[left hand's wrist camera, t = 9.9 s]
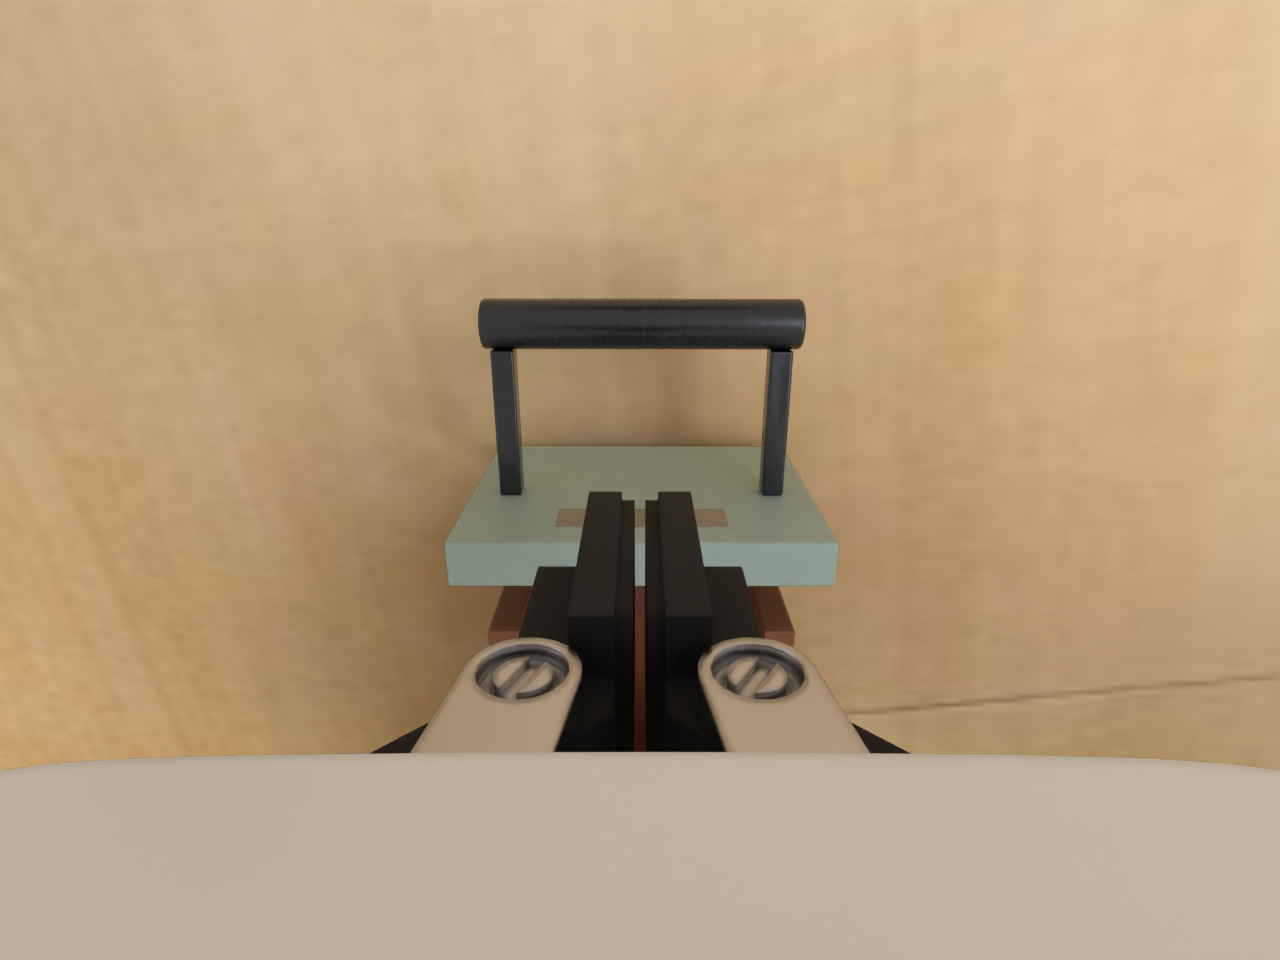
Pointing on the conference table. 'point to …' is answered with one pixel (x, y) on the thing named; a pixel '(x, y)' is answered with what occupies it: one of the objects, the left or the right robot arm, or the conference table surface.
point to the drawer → (642, 465)
